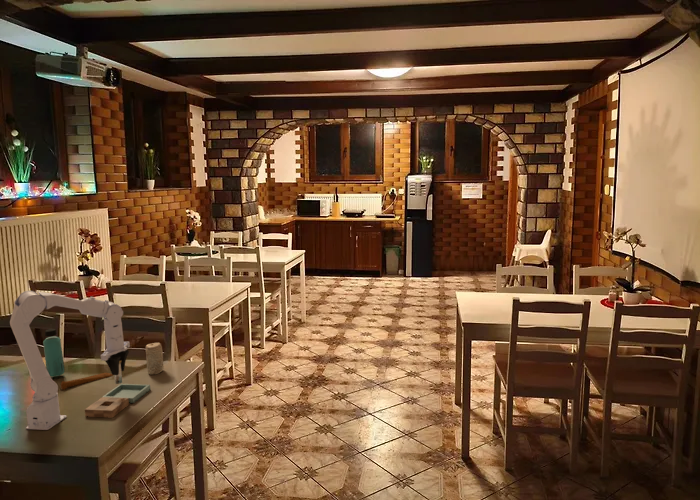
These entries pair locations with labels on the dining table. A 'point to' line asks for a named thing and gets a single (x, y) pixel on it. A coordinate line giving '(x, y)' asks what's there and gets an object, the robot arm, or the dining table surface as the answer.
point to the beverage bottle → (53, 354)
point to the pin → (118, 377)
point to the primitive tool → (84, 380)
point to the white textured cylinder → (154, 358)
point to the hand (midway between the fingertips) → (118, 372)
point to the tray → (129, 391)
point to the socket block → (106, 407)
